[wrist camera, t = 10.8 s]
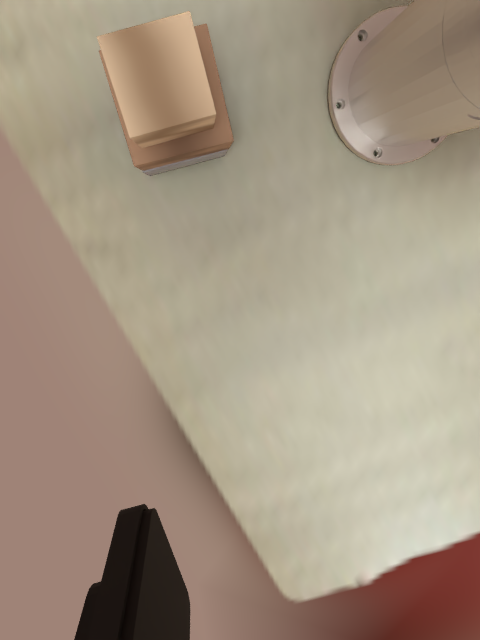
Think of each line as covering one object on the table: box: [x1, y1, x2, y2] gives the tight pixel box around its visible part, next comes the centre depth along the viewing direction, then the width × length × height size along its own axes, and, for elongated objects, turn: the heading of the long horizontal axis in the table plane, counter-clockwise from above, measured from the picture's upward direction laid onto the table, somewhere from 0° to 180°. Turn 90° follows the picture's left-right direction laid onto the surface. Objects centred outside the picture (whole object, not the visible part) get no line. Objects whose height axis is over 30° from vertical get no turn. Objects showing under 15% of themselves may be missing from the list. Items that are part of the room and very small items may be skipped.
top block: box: [99, 24, 234, 171], centre depth 29 cm, size 7×7×5 cm
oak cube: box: [97, 11, 216, 148], centre depth 24 cm, size 5×5×5 cm
